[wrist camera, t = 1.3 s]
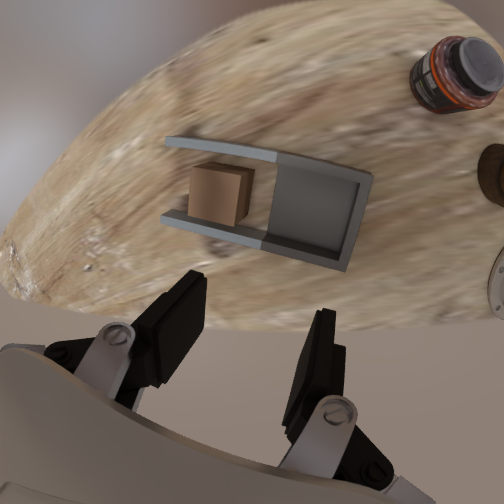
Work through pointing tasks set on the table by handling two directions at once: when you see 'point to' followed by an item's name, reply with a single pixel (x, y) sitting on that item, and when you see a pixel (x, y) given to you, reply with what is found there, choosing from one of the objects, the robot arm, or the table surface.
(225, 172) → the walnut block
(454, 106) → the supplement bottle
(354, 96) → the table surface
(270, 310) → the table surface
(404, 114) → the table surface
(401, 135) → the table surface
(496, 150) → the pepper mill
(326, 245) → the grey u-shaped bracket
